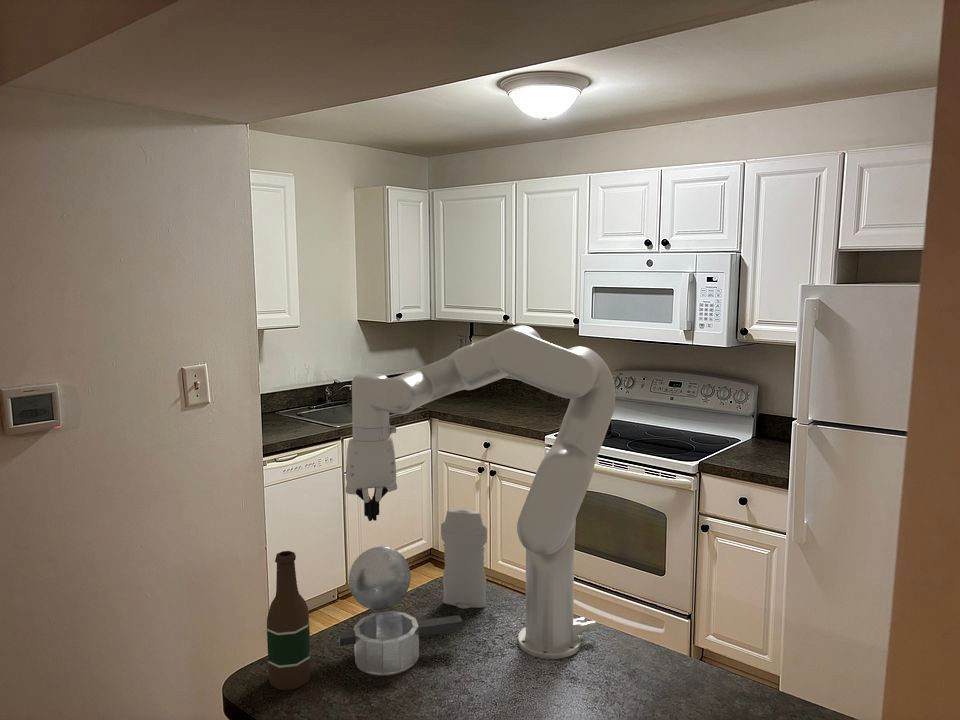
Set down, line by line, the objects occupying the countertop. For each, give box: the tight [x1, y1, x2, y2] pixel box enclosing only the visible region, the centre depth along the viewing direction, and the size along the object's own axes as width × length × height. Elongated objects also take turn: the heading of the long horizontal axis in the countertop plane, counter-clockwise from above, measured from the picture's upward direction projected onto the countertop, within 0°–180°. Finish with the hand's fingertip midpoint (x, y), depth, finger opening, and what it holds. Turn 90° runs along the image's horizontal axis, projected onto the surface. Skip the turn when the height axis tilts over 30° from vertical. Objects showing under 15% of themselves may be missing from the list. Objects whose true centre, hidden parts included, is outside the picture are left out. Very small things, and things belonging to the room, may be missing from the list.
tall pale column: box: [440, 509, 488, 609], centre depth 154 cm, size 11×4×22 cm, turn 77°
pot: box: [338, 608, 464, 677], centre depth 134 cm, size 24×13×6 cm, turn 106°
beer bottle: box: [266, 550, 312, 691], centre depth 125 cm, size 8×8×24 cm
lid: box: [348, 546, 412, 611], centre depth 140 cm, size 12×12×3 cm
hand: (371, 518), depth 145 cm, fingers closed
